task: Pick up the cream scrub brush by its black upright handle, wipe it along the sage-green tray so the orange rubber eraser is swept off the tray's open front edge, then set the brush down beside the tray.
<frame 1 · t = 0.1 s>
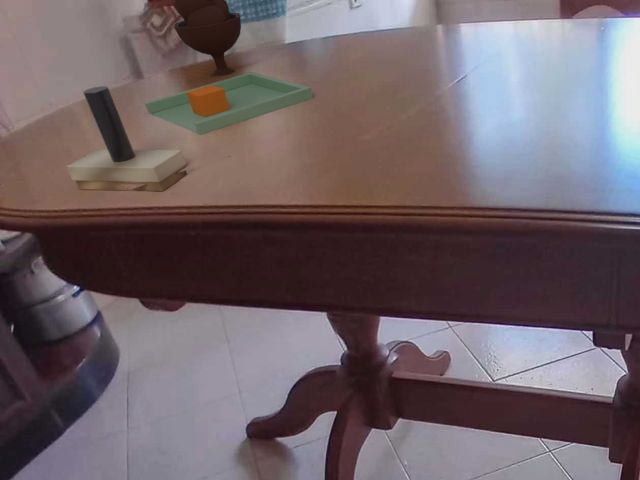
eraser: (211, 111, 103), point 1 cm above the table, touching tray
ice cream bowl: (225, 79, 122), on the table
tray: (232, 112, 105), on the table
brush: (133, 181, 85), on the table
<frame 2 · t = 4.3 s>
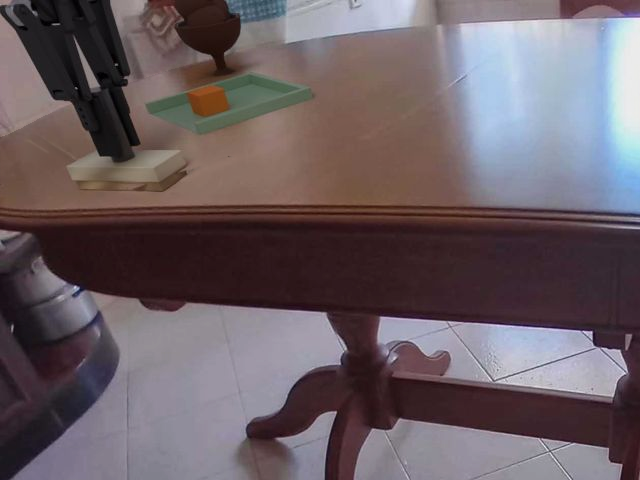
hand: (120, 149, 83), 4 cm above the table, tool pointing down, fingers closed on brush, 3 cm apart
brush: (133, 181, 85), on the table, touching gripper
everything else where it was.
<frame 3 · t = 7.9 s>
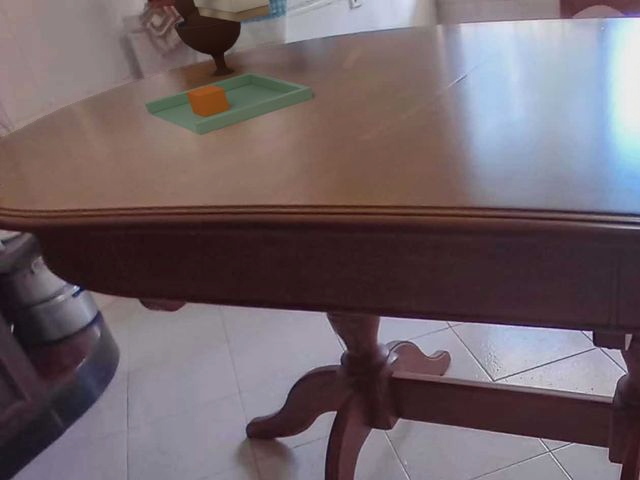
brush: (234, 14, 100), point 13 cm above the table, touching gripper
everything else where it was.
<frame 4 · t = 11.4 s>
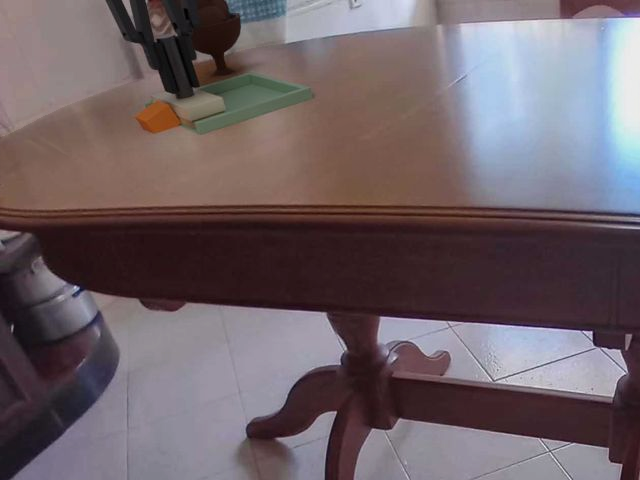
hand: (182, 88, 99), 5 cm above the table, tool pointing down, fingers closed on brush, 3 cm apart
eraser: (164, 129, 100), point 1 cm above the table, tilted 17°, touching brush
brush: (192, 116, 102), point 1 cm above the table, touching eraser, gripper
everything else where it was.
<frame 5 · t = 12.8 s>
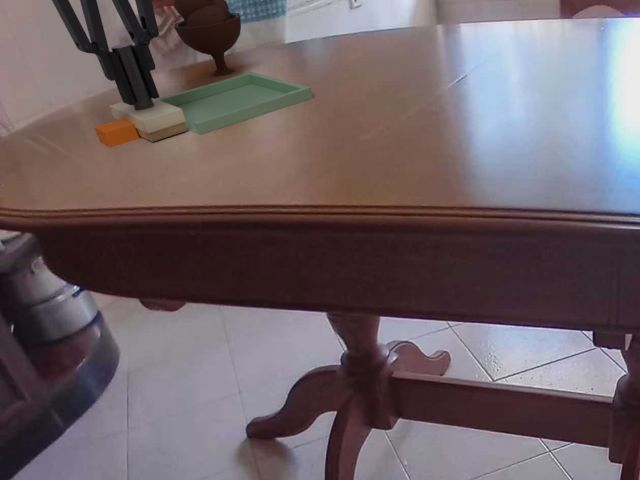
hand: (141, 99, 96), 5 cm above the table, tool pointing down, fingers closed on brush, 3 cm apart
eraser: (122, 146, 97), on the table, touching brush
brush: (152, 128, 98), point 1 cm above the table, touching eraser, gripper
everything else where it was.
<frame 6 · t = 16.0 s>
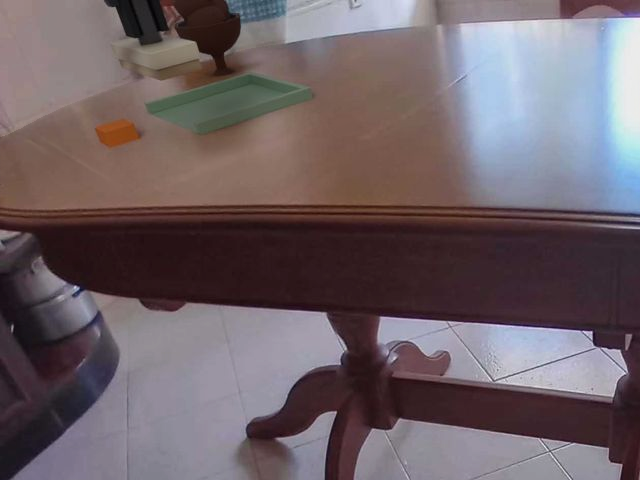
hand: (147, 32, 81), 15 cm above the table, tool pointing down, fingers closed on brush, 3 cm apart
eraser: (122, 146, 97), on the table
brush: (161, 68, 83), point 11 cm above the table, touching gripper
everything else where it was.
when the fingers open (4 cm above the table, at t = 18.4 s): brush stays where it is, on the table.
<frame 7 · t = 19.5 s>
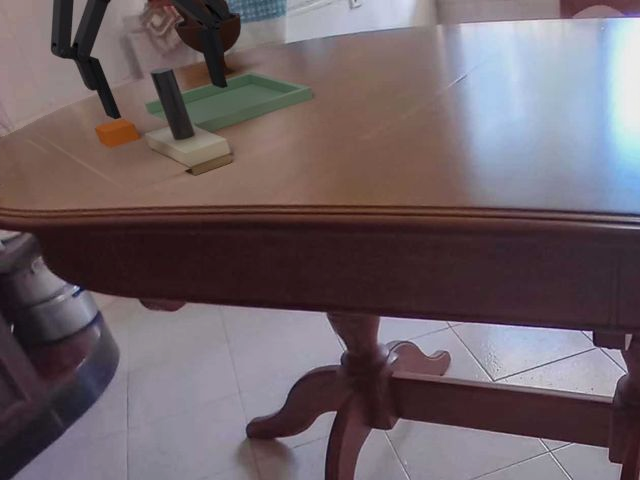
hand: (169, 100, 86), 7 cm above the table, tool pointing down, fingers open, 13 cm apart
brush: (192, 159, 90), on the table
everything else where it was.
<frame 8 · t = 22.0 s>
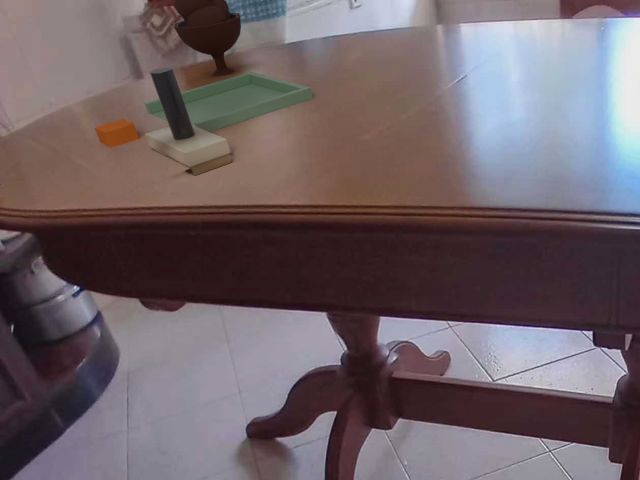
nothing on the table moved.
at the end: eraser inside the target area on the table beside the tray (0.1 cm from its centre), on the table; eraser on the table; the gripper is holding nothing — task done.
